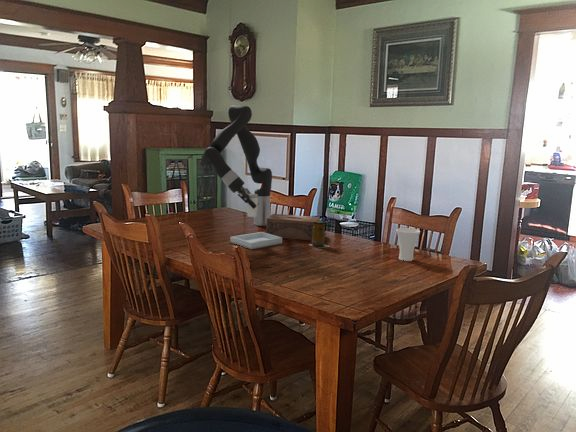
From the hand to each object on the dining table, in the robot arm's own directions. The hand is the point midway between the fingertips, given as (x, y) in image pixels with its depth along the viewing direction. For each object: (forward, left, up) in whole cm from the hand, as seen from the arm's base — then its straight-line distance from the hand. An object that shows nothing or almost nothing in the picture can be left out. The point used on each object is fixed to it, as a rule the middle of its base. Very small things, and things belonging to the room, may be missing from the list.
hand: (256, 206), depth 245 cm
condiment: (-21, +24, -18) cm, 37 cm away
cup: (-35, +65, -18) cm, 76 cm away
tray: (+1, +2, -18) cm, 18 cm away
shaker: (+1, -2, -5) cm, 5 cm away
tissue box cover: (-26, 0, -18) cm, 32 cm away
